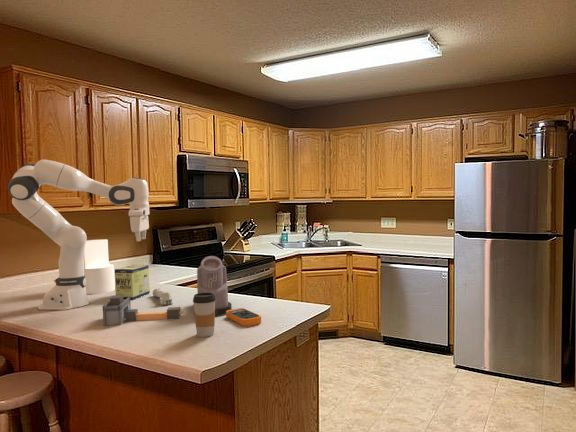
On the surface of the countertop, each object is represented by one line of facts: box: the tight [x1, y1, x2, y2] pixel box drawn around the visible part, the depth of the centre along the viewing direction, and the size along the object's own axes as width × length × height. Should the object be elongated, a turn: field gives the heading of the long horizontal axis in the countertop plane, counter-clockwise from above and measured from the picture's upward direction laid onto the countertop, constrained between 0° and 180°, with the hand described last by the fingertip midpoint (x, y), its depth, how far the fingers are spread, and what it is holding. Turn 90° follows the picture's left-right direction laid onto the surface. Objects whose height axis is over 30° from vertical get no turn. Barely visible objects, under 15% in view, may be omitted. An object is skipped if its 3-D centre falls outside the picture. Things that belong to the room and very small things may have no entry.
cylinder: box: [84, 238, 116, 295], centre depth 252 cm, size 17×17×28 cm
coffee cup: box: [192, 292, 216, 338], centre depth 167 cm, size 8×8×15 cm
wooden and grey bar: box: [125, 306, 185, 322], centre depth 191 cm, size 24×4×4 cm, turn 95°
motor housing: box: [102, 295, 132, 327], centre depth 190 cm, size 7×15×10 cm, turn 4°
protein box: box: [114, 264, 151, 301], centre depth 235 cm, size 10×16×16 cm
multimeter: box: [225, 307, 262, 327], centre depth 185 cm, size 9×18×3 cm, turn 33°
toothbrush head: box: [152, 288, 174, 306], centre depth 225 cm, size 5×7×25 cm
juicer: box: [196, 255, 233, 318], centre depth 205 cm, size 30×16×24 cm, turn 12°
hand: (141, 240), depth 216 cm, fingers open, 8 cm apart
